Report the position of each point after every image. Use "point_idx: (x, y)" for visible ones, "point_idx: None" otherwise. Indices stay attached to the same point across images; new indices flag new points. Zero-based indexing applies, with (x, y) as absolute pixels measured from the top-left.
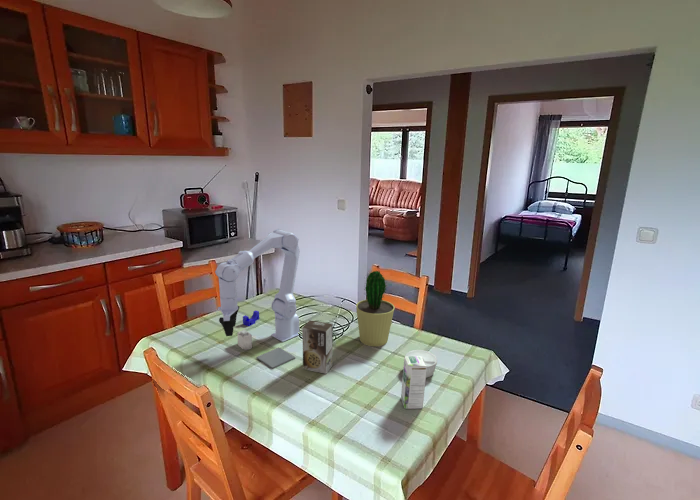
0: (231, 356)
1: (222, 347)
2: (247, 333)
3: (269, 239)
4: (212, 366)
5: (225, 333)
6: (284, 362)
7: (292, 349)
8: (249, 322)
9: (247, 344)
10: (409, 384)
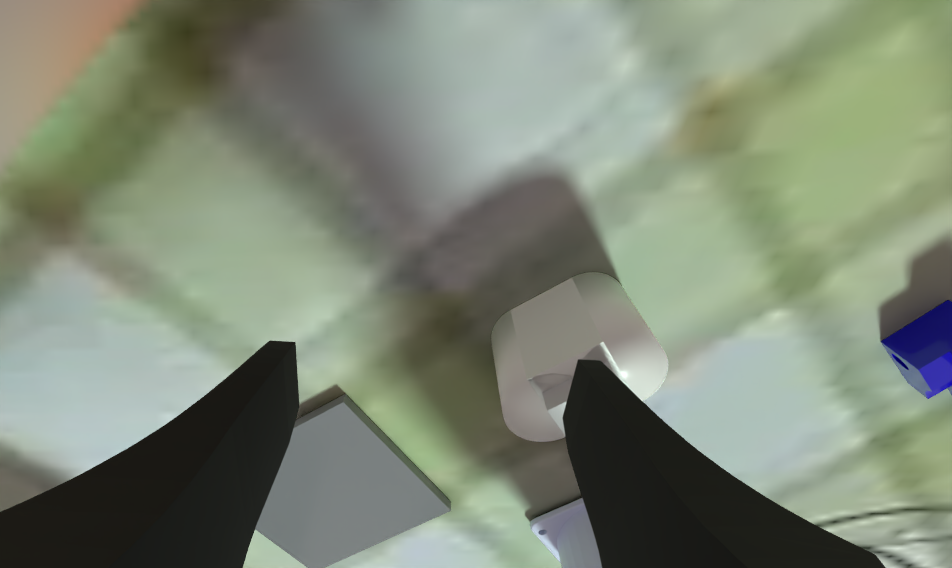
0: (405, 229)
1: (593, 144)
2: (560, 426)
3: None
4: (240, 68)
5: (244, 364)
6: (258, 529)
7: (425, 554)
8: (910, 366)
9: (496, 368)
10: None
